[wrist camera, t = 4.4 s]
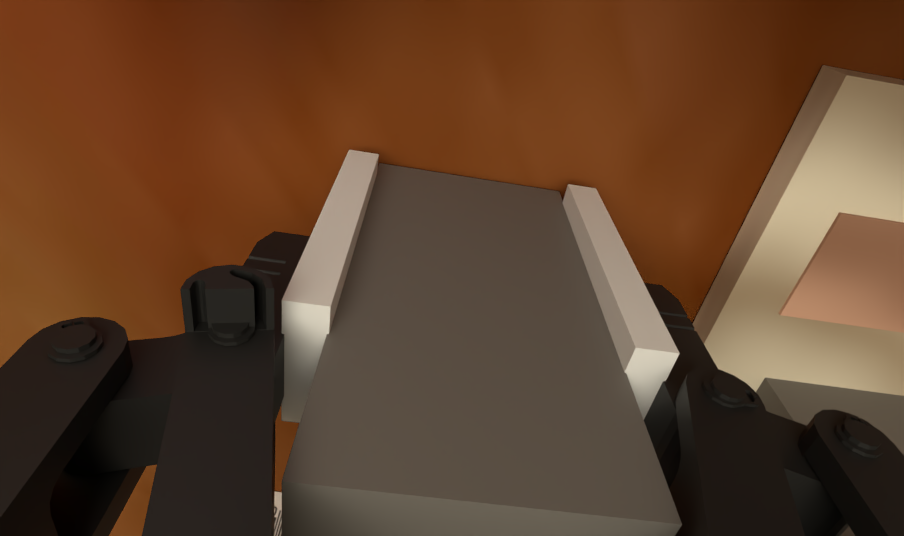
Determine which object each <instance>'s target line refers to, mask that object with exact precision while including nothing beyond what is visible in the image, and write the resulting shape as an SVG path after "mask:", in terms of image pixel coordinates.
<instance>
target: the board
mask: <svg viewBox="0 0 904 536" xmlns="http://www.w3.org/2000/svg"><path fill="white" fill-rule="evenodd" d="M693 326H694V331H697V333H698V335H699V337H700V338H701V340H702V342H703V343H704V345H705V347H706V349H707V350H708V352H709V354H710V356H711V357H712V359H713V361H714V363H715V364H716V366H717V368H718V369H719V370H722V371H724V372H727V373H729V374H732V375H734V376H736V377H737V378H739V379H740V380H742V381H744V382H745V383H747V384H748V385H749V386H750V387H751V388H752V389H753V390H754V391H755V392H756V391H757V390H758V388H759V386H760V385H761V383H762V382H763V380H764V379H765V378H773V379H780V380H788V381H796V382H803V383H811V384H818V385H826V386H833V387H841V388H848V389H856V390H863V391H871V392H878V393H886V394H893V395H901V396H904V80H902V79H896V78H891V77H885V76H880V75H874V74H869V73H863V72H858V71H852V70H847V69H841V68H836V67H830V66H825V65H823V66H822V68H821V70H820V72H819V74H818V76H817V78H816V80H815V82H814V84H813V86H812V88H811V90H810V92H809V94H808V96H807V98H806V100H805V102H804V104H803V105H802V107H801V109H800V111H799V113H798V115H797V117H796V119H795V121H794V123H793V125H792V127H791V129H790V131H789V133H788V135H787V137H786V139H785V141H784V143H783V145H782V147H781V149H780V151H779V153H778V155H777V157H776V159H775V161H774V163H773V165H772V167H771V169H770V171H769V173H768V175H767V177H766V179H765V181H764V183H763V185H762V187H761V189H760V191H759V193H758V195H757V197H756V199H755V201H754V203H753V205H752V207H751V209H750V211H749V213H748V215H747V217H746V219H745V221H744V223H743V225H742V227H741V229H740V231H739V233H738V235H737V237H736V239H735V240H734V242H733V244H732V246H731V248H730V250H729V252H728V254H727V256H726V258H725V260H724V262H723V264H722V266H721V268H720V270H719V272H718V274H717V276H716V278H715V280H714V282H713V284H712V286H711V288H710V290H709V292H708V294H707V296H706V298H705V300H704V302H703V304H702V306H701V308H700V310H699V312H698V314H697V316H696V318H695V320H694V322H693Z"/></svg>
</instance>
